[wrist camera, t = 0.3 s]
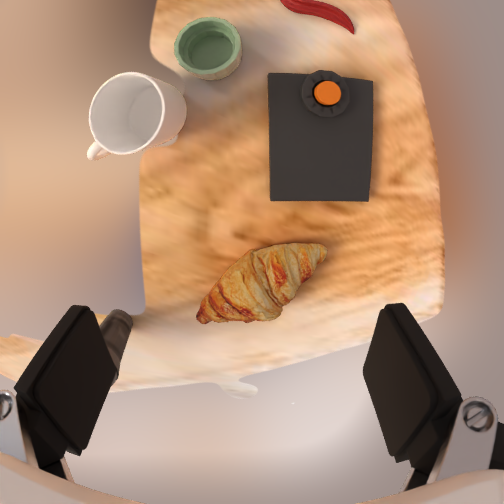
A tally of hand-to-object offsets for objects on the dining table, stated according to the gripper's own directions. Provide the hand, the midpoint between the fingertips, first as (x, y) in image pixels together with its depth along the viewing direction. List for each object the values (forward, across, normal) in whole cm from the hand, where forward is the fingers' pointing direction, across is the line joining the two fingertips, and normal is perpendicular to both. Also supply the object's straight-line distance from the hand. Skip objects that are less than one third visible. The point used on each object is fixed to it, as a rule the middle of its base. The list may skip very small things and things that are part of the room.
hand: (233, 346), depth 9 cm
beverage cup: (+31, +23, +24) cm, 45 cm away
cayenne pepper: (+30, -9, -23) cm, 39 cm away
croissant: (+31, -1, +15) cm, 34 cm away
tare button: (+27, -9, -10) cm, 31 cm away
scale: (+30, -9, -5) cm, 32 cm away
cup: (+30, +13, -8) cm, 34 cm away
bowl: (+30, +4, -16) cm, 34 cm away
